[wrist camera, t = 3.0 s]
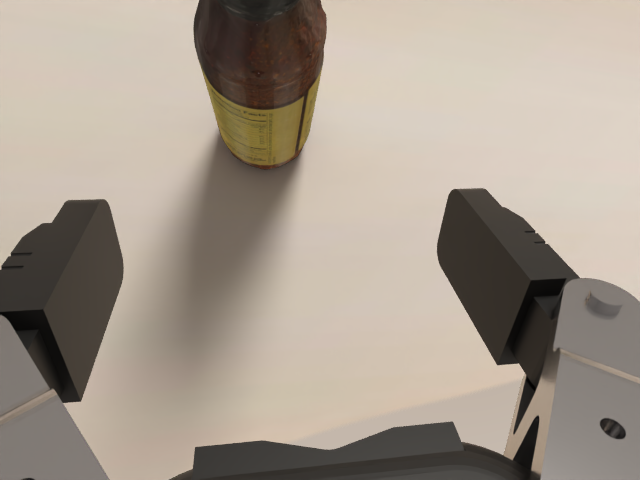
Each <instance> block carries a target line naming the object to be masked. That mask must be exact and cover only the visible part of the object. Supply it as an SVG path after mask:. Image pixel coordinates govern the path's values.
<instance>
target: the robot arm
mask: <svg viewBox="0 0 640 480" xmlns="http://www.w3.org/2000/svg"><path fill="white" fill-rule="evenodd" d="M437 255H438V260H439V264H440V266H441V268H442V270H443V271H444V273H445V275H446V277H447V278H448V280H449V282H450V284H451V285H452V287H453V289H454V291H455V292H456V294H457V296H458V298H459V299H460V301H461V303H462V304H463V306H464V308H465V310H466V311H467V313H468V315H469V317H470V318H471V320H472V322H473V324H474V325H475V327H476V329H477V331H478V332H479V334H480V336H481V338H482V339H483V341H484V343H485V345H486V346H487V348H488V350H489V352H490V353H491V355H492V357H493V359H494V360H495V362H496V364H497V365H505V364H517V363H519V364H520V366H521V367H522V369H523V370H524V372H525V375H524V377H523V379H522V382H521V386H520V390H519V394H518V398H517V402H516V406H515V411H514V415H513V419H512V423H511V427H510V432H509V436H508V440H507V444H506V448H505V451H504V454H503V455H501V454H499V453H497V452H494V451H491V450H489V449H486V448H483V447H480V446H477V445H473V444H469V443H465V442H461V440H460V438H459V435H458V433H457V430H456V428H455V426H454V423H453V422H444V423H434V424H424V425H415V426H404V427H394V428H391V429H388V430H385V431H383V432H380V433H378V434H375V435H372V436H369V437H367V438H364V439H362V440H359V441H356V442H354V443H351V444H348V445H346V446H343V447H340V448H337V449H334V450H323V449H317V448H310V447H302V446H296V445H289V444H282V443H275V442H269V441H253V442H243V443H233V444H223V445H213V446H203V447H195V454H194V464H193V469H192V470H189V471H187V472H184V473H182V474H180V475H178V476H176V477H173V478H171V479H169V480H640V302H639V301H638V300H637V299H636V298H635V297H634V296H632V295H631V294H630V293H628V292H627V291H625V290H623V289H621V288H620V287H618V286H615V285H613V284H611V283H608V282H605V281H601V280H597V279H590V278H580V277H579V276H578V275H577V274H576V273H575V272H574V271H573V270H572V269H571V268H570V267H569V266H568V265H567V264H566V263H565V262H564V261H563V260H562V258H561V257H560V256H559V255H558V254H557V253H556V252H555V251H554V250H553V249H552V248H551V247H550V246H549V245H548V244H545V241H544V240H543V238H542V237H541V236H540V235H539V234H538V233H535V230H534V229H533V228H532V227H531V226H530V225H529V224H528V223H527V222H526V221H525V220H524V218H522V217H520V216H519V215H517V214H515V213H514V212H512V211H510V210H509V209H507V208H505V207H502V206H501V205H500V204H499V203H498V202H497V201H496V200H495V199H494V198H493V197H492V195H491V194H490V193H489V192H488V191H487V190H486V189H483V188H477V189H454V190H452V191H451V192H450V194H449V196H448V199H447V204H446V208H445V212H444V217H443V221H442V225H441V230H440V234H439V238H438V243H437ZM1 267H2V270H0V480H109V478H108V476H107V475H106V473H105V472H104V470H103V468H102V467H101V465H100V463H99V462H98V460H97V458H96V457H95V455H94V454H93V452H92V450H91V449H90V447H89V445H88V444H87V442H86V440H85V439H84V437H83V436H82V434H81V432H80V431H79V429H78V427H77V426H76V424H75V422H74V421H73V419H72V418H71V416H70V414H69V413H68V411H67V409H66V408H65V406H64V404H63V403H68V402H80V401H81V400H82V397H83V394H84V391H85V388H86V385H87V383H88V380H89V377H90V374H91V371H92V368H93V365H94V362H95V359H96V357H97V354H98V351H99V348H100V345H101V342H102V339H103V336H104V333H105V330H106V328H107V325H108V322H109V319H110V316H111V313H112V310H113V307H114V304H115V302H116V299H117V296H118V293H119V290H120V287H121V284H122V280H123V258H122V253H121V249H120V245H119V241H118V237H117V233H116V230H115V226H114V222H113V218H112V214H111V210H110V207H109V204H108V202H107V201H106V200H104V199H96V200H68V201H66V202H65V203H64V205H63V207H62V208H61V210H60V211H59V213H58V214H57V216H56V217H55V219H54V220H53V222H52V223H42V224H41V225H39V226H38V227H37V228H35V229H34V230H32V231H31V232H29V233H28V234H26V235H25V236H24V237H22V238H21V240H20V241H19V243H18V244H17V245H16V247H15V248H14V250H13V251H12V252H11V256H9V257H8V258H7V259H6V261H5V262H4V264H3V265H2V266H1Z"/></svg>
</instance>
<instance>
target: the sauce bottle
mask: <svg viewBox="0 0 640 480" xmlns="http://www.w3.org/2000/svg"><path fill="white" fill-rule="evenodd" d="M326 31H327V26H326V14H325V12H324V10H323V9H322V5H321V1H320V0H199V3H198V7H197V11H196V14H195V18H194V42H195V48H196V52H197V56H198V59H199V62H200V66H201V69H202V72H203V76H204V79H205V82H206V86H207V89H208V92H209V96H210V99H211V103H212V106H213V109H214V113H215V116H216V120H217V123H218V127H219V130H220V133H221V136H222V138H223V140H224V142H225V144H226V145H227V147H228V148H229V149H230V151H231V152H232V154H233V155H234V156H235V157H237V158H238V159H240V160H241V161H242V162H245V163H247V164H248V165H251V166H254V167H258V168H260V169H271V168H275V167H279V166H281V165H283V164H286V163H288V162H289V161H291V160H293V159H294V158H295V157H297V156H298V154H299V153H300V151H301V150H302V147H303V145H304V143H305V142H306V140H307V137H308V135H309V131H310V127H311V122H312V117H313V112H314V106H315V101H316V96H317V91H318V86H319V81H320V76H321V70H322V65H323V58H324V44H325V39H326Z"/></svg>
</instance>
